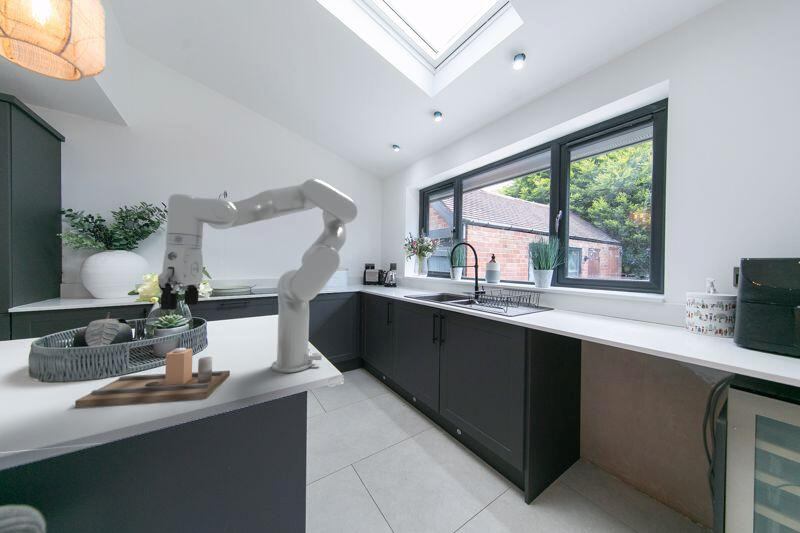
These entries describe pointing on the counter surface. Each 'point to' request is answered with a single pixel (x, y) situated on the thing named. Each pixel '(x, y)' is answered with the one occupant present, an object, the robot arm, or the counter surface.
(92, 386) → the counter surface
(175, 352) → the block
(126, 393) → the board
